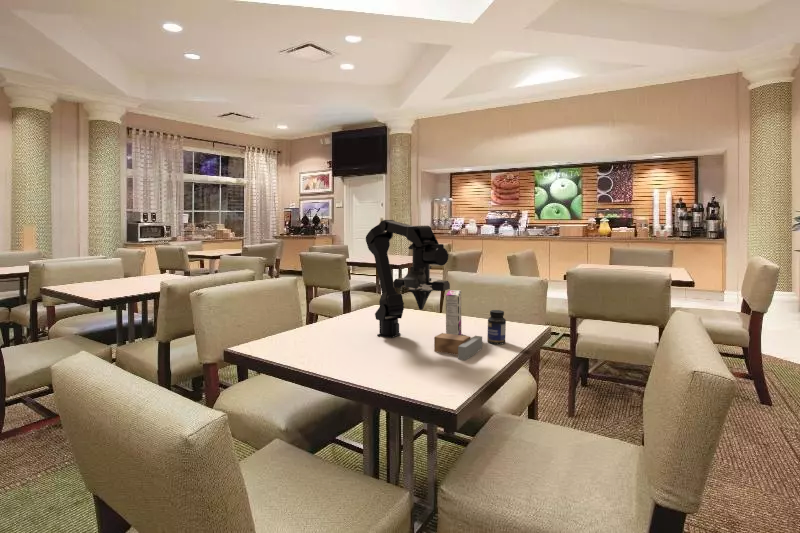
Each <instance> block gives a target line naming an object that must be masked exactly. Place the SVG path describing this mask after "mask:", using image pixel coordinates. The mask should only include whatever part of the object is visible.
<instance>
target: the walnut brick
mask: <svg viewBox="0 0 800 533" xmlns="http://www.w3.org/2000/svg"><path fill="white" fill-rule="evenodd" d="M469 339H471V336H468V335H462V334H461V335H454V334H446V332H445V333H444V332H441V333H440V334H437V335H435V336H434V338H433V340H434V344H433V345H434V349H433V350H434V352H437V353H442V354H448V355H449V354H450V355H456V356H458V346H459V345H461V344H463V343H464V342H466V341H468V340H469Z"/></svg>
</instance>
